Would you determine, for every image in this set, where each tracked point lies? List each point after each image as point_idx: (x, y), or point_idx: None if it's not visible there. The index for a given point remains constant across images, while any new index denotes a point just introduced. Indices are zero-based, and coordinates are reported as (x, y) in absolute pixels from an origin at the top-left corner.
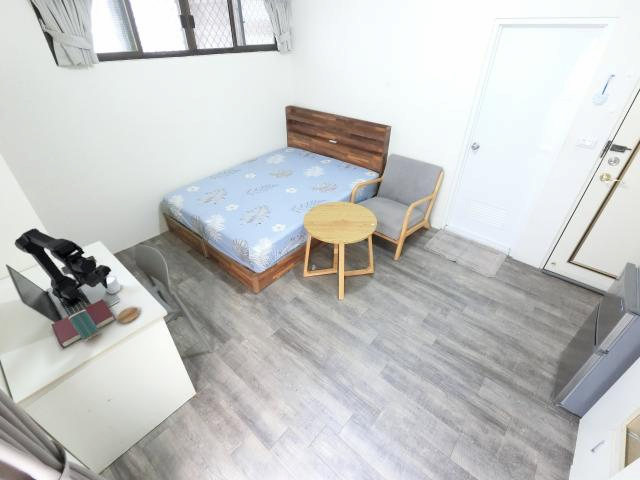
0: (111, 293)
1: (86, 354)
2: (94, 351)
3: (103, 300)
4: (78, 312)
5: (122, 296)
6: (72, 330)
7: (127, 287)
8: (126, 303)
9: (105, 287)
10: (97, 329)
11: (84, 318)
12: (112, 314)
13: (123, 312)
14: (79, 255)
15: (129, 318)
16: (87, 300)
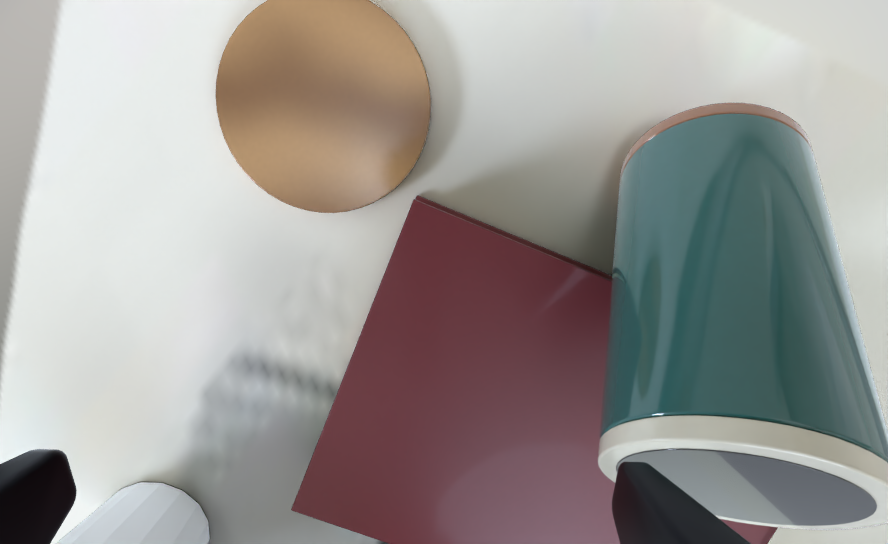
0: (200, 513)
1: (828, 101)
2: (784, 54)
3: (303, 483)
4: (822, 448)
5: (175, 390)
6: None
7: (69, 443)
8: (221, 274)
9: (42, 505)
10: (665, 147)
11: (764, 303)
12: (408, 219)
13: (322, 186)
14: None
15: (356, 43)
16: (653, 507)
